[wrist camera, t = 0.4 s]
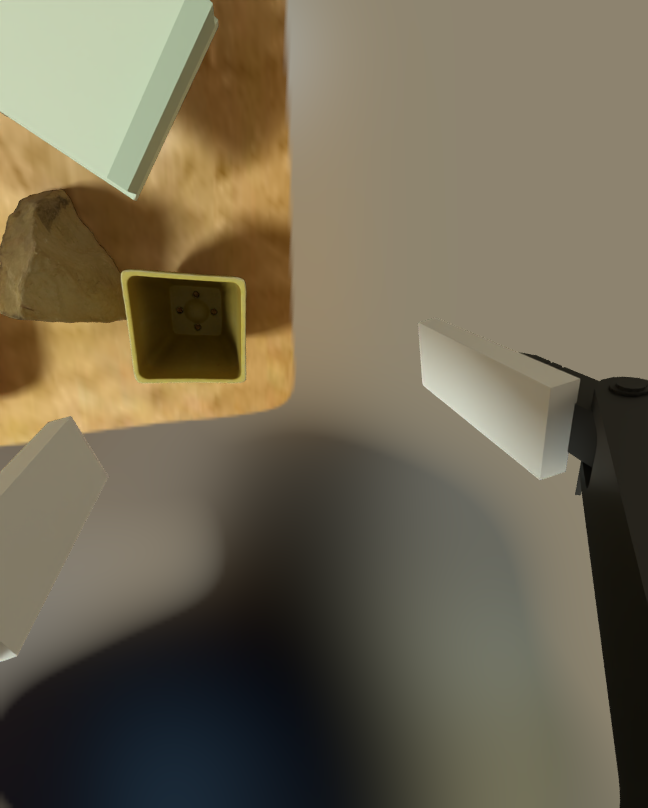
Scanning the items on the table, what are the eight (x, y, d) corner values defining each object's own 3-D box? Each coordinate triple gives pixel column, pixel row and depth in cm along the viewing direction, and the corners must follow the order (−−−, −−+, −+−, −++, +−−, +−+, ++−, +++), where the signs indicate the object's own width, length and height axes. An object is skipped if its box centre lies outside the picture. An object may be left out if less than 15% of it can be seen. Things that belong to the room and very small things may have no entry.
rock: (-26, 160, 26) (-27, 299, 28) (9, 155, 21) (5, 321, 24) (128, 215, 35) (117, 317, 37) (176, 220, 30) (161, 337, 32)
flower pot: (243, 267, 35) (246, 278, 27) (243, 352, 39) (246, 384, 31) (145, 259, 33) (118, 269, 25) (155, 350, 37) (134, 383, 29)
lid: (-98, 45, 20) (-154, 13, 17) (-29, -211, 17) (-83, -303, 14) (136, 201, 25) (124, 197, 22) (218, 26, 22) (216, -5, 19)
